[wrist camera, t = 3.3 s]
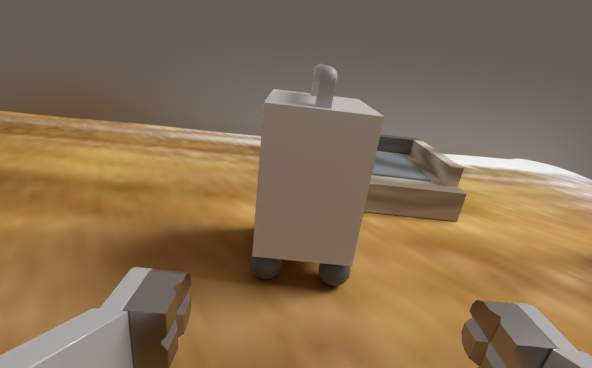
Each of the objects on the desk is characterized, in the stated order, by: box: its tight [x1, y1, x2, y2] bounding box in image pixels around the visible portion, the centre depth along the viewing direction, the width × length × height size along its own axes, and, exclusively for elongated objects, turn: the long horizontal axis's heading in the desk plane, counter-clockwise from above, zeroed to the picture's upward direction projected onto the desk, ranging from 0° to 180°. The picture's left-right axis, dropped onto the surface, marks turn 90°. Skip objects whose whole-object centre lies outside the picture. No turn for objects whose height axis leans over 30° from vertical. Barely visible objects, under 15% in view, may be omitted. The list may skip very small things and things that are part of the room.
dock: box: [364, 134, 466, 221], centre depth 37 cm, size 14×14×5 cm
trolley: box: [250, 64, 384, 286], centre depth 21 cm, size 7×6×13 cm
